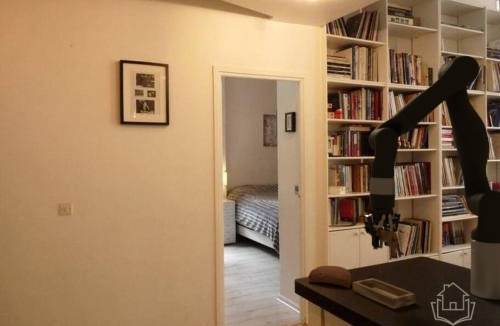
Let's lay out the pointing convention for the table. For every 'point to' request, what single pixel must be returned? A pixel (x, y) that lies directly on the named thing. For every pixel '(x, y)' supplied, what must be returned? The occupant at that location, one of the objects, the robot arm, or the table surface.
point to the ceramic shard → (331, 275)
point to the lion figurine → (388, 240)
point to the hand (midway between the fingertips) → (381, 246)
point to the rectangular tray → (384, 293)
